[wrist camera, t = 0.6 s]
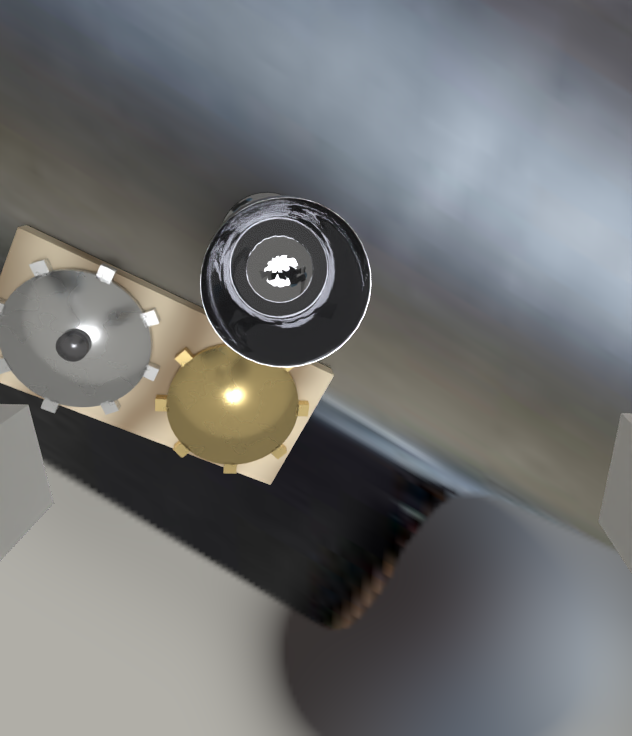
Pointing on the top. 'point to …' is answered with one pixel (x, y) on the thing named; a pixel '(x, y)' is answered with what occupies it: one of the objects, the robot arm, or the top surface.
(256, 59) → the top surface
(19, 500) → the robot arm
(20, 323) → the gear board
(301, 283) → the wine glass
